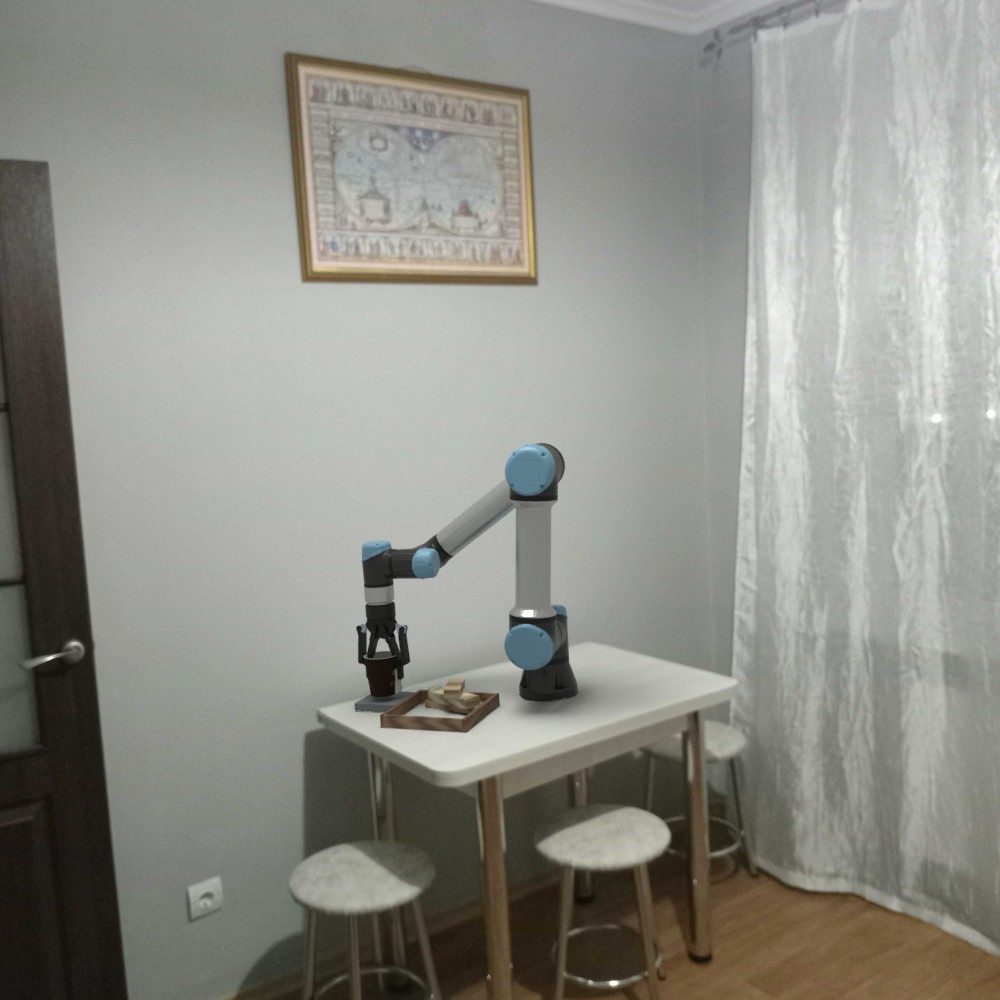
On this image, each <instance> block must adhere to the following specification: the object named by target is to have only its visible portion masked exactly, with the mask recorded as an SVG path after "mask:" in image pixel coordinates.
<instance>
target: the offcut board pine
mask: <svg viewBox="0 0 1000 1000" xmlns="http://www.w3.org/2000/svg"><path fill="white" fill-rule="evenodd" d="M444 688H445V687H444V686H438V687H436V688H432V689H428V690H429V691H427V692H428V701H433V702H437V703H441V704H445V705H449V706H453V707H457V708H461V709H466V710H467V709H470V708H473V707H475V706H478V705H480V699H479V695H475V694H471V693H466V692H467V691H463V693H462V695H461V697H460V698H444Z"/></svg>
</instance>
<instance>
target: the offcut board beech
mask: <svg viewBox="0 0 1000 1000" xmlns="http://www.w3.org/2000/svg"><path fill="white" fill-rule="evenodd" d="M465 681H466V679H465V678H451V679H450V678H449V679H448V680H447V683H446V684H445V687H444V698H460V697H461V695H462V693H463V692H464V690H465V688H466V682H465Z"/></svg>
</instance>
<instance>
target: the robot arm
mask: <svg viewBox="0 0 1000 1000" xmlns="http://www.w3.org/2000/svg"><path fill="white" fill-rule="evenodd" d="M565 470H566V462H565V459H564V456H563V454H562V452H561V451H560V450H559V449H558V447H556V446H554V445H552V444H549V443H546V442H538V443H531V444H524V445H522V446H520V447H518V448H517V449H515V450H514V451H513V452H512V453H511V454H510V455H509V457H508V458H507V460H506V462H505V467H504V476H505V477H504V478H505V479H503V480H502V481H500V482H499V483H498V484H497V485H495V486H494V487H493V488H492V489H491V490H489V491H488V492H487V493H485V495H483V496H482V497H480V498H479V499H478V500H477V501H475V502H474V503H473V504H472V505H471V506H469V507H468V508H466V510H464V511H463V512H462V513H460V514H459V515H458V516H457V517H456V518H454V519H453V520H452V521H450V522H449V523H448V524H446V526H444V527H443V528H442V529H441V530H439V531H438V532H436V534H435V535H433V536H432V537H430V538H429V539H427V541H426V542H424V543H423V544H420V545H418V546H414V547H413V548H399V549H398V548H393V546H392V544H391V541H389V540H374V541H373V540H372V541H368V542H365V543H363V545H362V546H361V564H362V565H361V566H362V576H363V589H364V591H363V592H364V593H363V595H364V602H365V603H366V604H365V605H364V606H365V617H366V621H365V623H364V624H363V623H362V624H359V625H356V628H355V630H356V632H357V633H356V634H357V663H358V665H359V664H360V665H364V666H365V661H364V655H366V654H367V656H368V659H373V657H374V655H375V652H377V647H378V644H379V640H380V639H382V640H384V641H385V643H386V644H387V646H388V649H389V651H390V652H391V654H392V656H395V655H396V666H395V668H396V676H395V693H399V692H400V691H403V686H402V685H403V684H402V680H403V679H404V677H405V672H404V669H405V668H404V666H406V665H407V664H408V665H409V664H410V663H411V656H410V649H409V643H408V642H409V641H408V636H407V634H408V633H407V632H408V630H409V629H408V627H409V626H408V625H406V624H404V625H403V624H399V623H398V622H397V618H396V615H397V613H396V603H395V601H394V600H395V587H394V582H395V581H394V580H398V579H400V580H401V579H404V580H405V579H407V580H408V579H410V580H411V579H419V580H425V579H434V578H436V577H437V576H438V573H439V572H440V569H441V568H443V567H444V566H445V565H447V563H448V562H449V561H450V560H451V559H453V558H454V557H455V556H456V555H458V554H459V553H460V552H461V551H463V550H464V549H465V548H467V546H469V545H470V544H471V543H473V542H474V541H475V540H477V539H478V538H479V537H481V536H482V535H483V534H484V533H485V532H487V531H488V530H490V529H491V527H494V526H495V525H496V524H497V523H498V522H500V521H501V520H502V519H504V518H505V517H506V516H508V515H509V514H510V513H511V512H513V511H514V510H515V597H514V598H515V599H514V601H515V602H514V603H515V604H514V606H513V607H511V609H510V610H509V612H508V615H509V617H508V632H507V633H506V637H505V639H504V643H503V645H504V647H503V648H504V651H505V655H506V657H507V658H508V660H509V661H510V662H511V663H512V664H513V665H514V666H516V667H517V668H519V669H521V670H522V673H521V676H520V681H519V684H518V691H519V696H520V697H522V698H523V699H526V700H531V701H538V702H539V701H541V702H542V701H543V702H545V701H547V702H548V701H557V700H558V701H559V700H563V699H567V698H572V697H573V696H575V695H576V694H578V691H579V688H578V686H579V685H578V682H577V677H576V676H575V674H574V671H573V667H572V666H571V663H570V649H569V647H570V646H569V628H568V618H569V616H568V614H567V613H568V612H567V608H566V607H565V606H564V605H562V604H552V603H551V602H552V600H551V599H552V597H551V596H552V595H551V594H552V592H551V591H552V589H551V588H552V586H551V585H552V583H551V581H552V576H551V575H552V507H553V506H554V505H555V504H556V503H557V502H558V500H559V499H558V497H559V484H560V482H561V480H562V479H563V477H564V474H565ZM395 631H396V634H397V637H396V635H395ZM367 632H369V634H370V635H369V638H368V637H367V636H368V633H367ZM397 638H398V643H397ZM367 640H368V641H369V643H368V641H367ZM367 645H368V646H367ZM365 677H366V679H368V677H367V672H366V671H365Z"/></svg>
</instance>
